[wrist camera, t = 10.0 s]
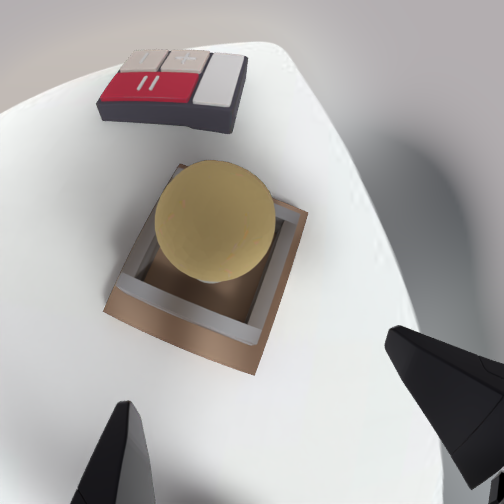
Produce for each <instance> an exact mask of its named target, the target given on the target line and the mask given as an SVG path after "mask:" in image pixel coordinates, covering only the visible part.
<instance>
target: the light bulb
mask: <svg viewBox="0 0 504 504" xmlns="http://www.w3.org/2000/svg"><path fill="white" fill-rule="evenodd" d="M275 220H276V219H275V208H274V202H273V199H272V197H271V195H270V192H269V190H268V189H267V187H266V186H265V185H264V184H263V182H262V181H261V180H260V179H259V178H258V177H256V176H255V175H254V174H252V173H251V172H249V171H248V170H246V169H244V168H242V167H240V166H237V165H235V164H232V163H229V162H224V161H216V160H205V161H201V162H198V163H195V164H192V165H190V166H189V167H187V168H186V169H184V170H182V171H181V172H180V173H179V174H178V175H176V176H175V177H174V178H173V180H172V181H171V182H170V183H169V184H168V185H167V187H166V188H165V190H164V191H163V193H162V195H161V197H160V199H159V202H158V205H157V208H156V213H155V232H156V236H157V240H158V243H159V245H160V247H161V249H162V251H163V253H164V254H165V256H166V257H167V258H168V260H169V261H170V262H171V263H172V264H173V265H174V266H175V267H176V268H177V269H179V270H180V271H181V272H183V273H185V274H187V275H188V276H190V277H193V278H196V279H198V280H199V281H202V282H204V283H218V282H221V281H227V280H231V279H235V278H238V277H240V276H242V275H244V274H245V273H247V272H249V271H250V270H251V269H252V268H254V267H255V266H256V265H257V264H258V263H259V262H260V261H261V259H262V258H263V257H264V256H265V254H266V253H267V251H268V249H269V247H270V245H271V242H272V239H273V235H274V231H275Z"/></svg>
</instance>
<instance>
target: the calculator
mask: <svg viewBox="0 0 504 504" xmlns="http://www.w3.org/2000/svg"><path fill="white" fill-rule="evenodd" d="M247 64H248V57H246V56H243V55H236V54H227V53H210V52H209V51H204V50H172V51H168V50H167V49H161V50H160V49H158V50H136V51H134V52H133V53H132V54H131V55H130V57H129V58H128V59H127V60H126V62H125V63H124V64H123V65H122V67H121V68H120V70H119V71H118V73H117V74H116V75H115V76H114V78H113V79H112V80H111V82H110V83H109V84H108V86H107V87H106V89H105V90H104V92H103V93H102V95H101V96H100V98H99V100H98V101H97V103H96V105H97V108H98V111H99V113H100V116H101V118H102V120H103V121H117V122H133V123H150V124H167V125H180V126H188V127H190V128H192V129H199V130H206V131H212V132H219V133H225V134H230V133H232V131H233V128H234V123H235V119H236V115H237V111H238V107H239V103H240V99H241V95H242V91H243V87H244V83H245V79H246V72H247Z"/></svg>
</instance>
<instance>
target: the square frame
mask: <svg viewBox="0 0 504 504" xmlns="http://www.w3.org/2000/svg"><path fill="white" fill-rule="evenodd" d="M187 167H188V166H185V165H183V164H179V166H178V167H177V169H176V171H175V172H174V174H173V176H172V177H171V179H170V181H169V182H168V184H169V183H170V182H171V181H172V180H173V178H174V177H175V176H176V175H178V174H179V173H180V172H181V171H182V170H184V169H186V168H187ZM168 184H167V185H168ZM166 187H167V186H166ZM166 187H165V188H166ZM164 190H165V189H164ZM162 193H163V192H162ZM161 195H162V194H161ZM160 197H161V196H160ZM159 199H160V198H159ZM159 199H158V201H157V203H156V205H155V206H154V208H153V210H152V212H151V214H150V216H149V217H148V219H147V221H146V223H145V225H144V227H143V229H142V230H141V232H140V234H139V236H138V238H137V240H136V242H135V244H134V246H133V248H132V250H131V252H130V254H129V256H128V258H127V260H126V262H125V264H124V266H123V268H122V270H121V272H120V274H119V277H118V279H117V281H116V283H115V285H114V287H113V290H112V292H111V294H110V296H109V299H108V301H107V303H106V305H105V308H104V310H103V312H105V313H107V314H109V315H110V316H112V317H114V318H116V319H118V320H120V321H122V322H124V323H126V324H128V325H131V326H133V327H135V328H137V329H139V330H141V331H143V332H145V333H147V334H150V335H152V336H154V337H156V338H159V339H161V340H163V341H165V342H168V343H170V344H172V345H175V346H177V347H179V348H182V349H184V350H187V351H189V352H191V353H194V354H196V355H199V356H201V357H204V358H207V359H209V360H212V361H214V362H217V363H220V364H222V365H225V366H228V367H231V368H234V369H236V370H239V371H242V372H245V373H248V374H251V375H254V376H255V373H256V370H257V368H258V365H259V362H260V359H261V357H262V354H263V351H264V348H265V345H266V343H267V340H268V337H269V334H270V331H271V328H272V325H273V322H274V319H275V316H276V314H277V311H278V308H279V305H280V302H281V299H282V296H283V293H284V289H285V286H286V283H287V280H288V277H289V274H290V271H291V268H292V265H293V262H294V258H295V255H296V252H297V249H298V246H299V242H300V239H301V236H302V233H303V229H304V226H305V223H306V219H307V216H308V212H306V211H303V210H301V209H298V208H296V207H294V206H291V205H289V204H286V203H284V202H281V201H279V200H276V199H274V198H272V199H273V202H274V208H275V219H276V220H275V231H274V235H273V239H272V242H271V245H270V247H269V249H268V251H267V253H266V254H265V256H264V257H263V258H262V259H261V261H260V262H259V263H258V264H257V265H256V266H255V267H254V268H252V269H251V270H250V271H249V272H247V273H245V274H244V275H242V276H240V277H238V278H235V279H231V280H227V281H221V282H218V283H204V282H202V281H199V280H198V279H196V278H193V277H190V276H188V275H187V274H185V273H183V272H181V271H180V270H179V269H177V268H176V267H175V266H174V265H173V264H172V263H171V262H170V261H169V260H168V258H167V257H166V256H165V254H164V253H163V251H162V249H161V247H160V245H159V243H158V240H157V236H156V232H155V213H156V208H157V205H158V202H159Z"/></svg>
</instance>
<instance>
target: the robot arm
mask: <svg viewBox="0 0 504 504" xmlns="http://www.w3.org/2000/svg"><path fill="white" fill-rule="evenodd" d="M385 350H386V352H387V354H388V356H389V357H390V359H391V361H392V363H393V365H394V367H395V369H396V370H397V372H398V374H399V376H400V378H401V380H402V381H403V383H404V384H405V386H406V387H407V389H408V390H409V392H410V393H411V395H412V396H413V398H414V399H415V401H416V402H417V404H418V405H419V407H420V408H421V410H422V411H423V413H424V414H425V416H426V418H427V419H428V421H429V422H430V424H431V425H432V427H433V428H434V430H435V432H436V433H437V435H438V436H439V438H440V439H441V441H442V443H443V444H444V446H445V447H446V449H447V451H448V452H449V454H450V455H451V458H452V459H453V461H454V462H455V464H456V466H457V467H458V469H459V471H460V473H461V474H462V476H463V478H464V479H465V481H466V483H467V485H468V486H469V488H470V489H471V490H472V489H474V488H476V487H477V486H478V485H480V484H481V483H483V482H484V481H486V480H487V479H488V478H489V477H491V476H492V475H493V474H495V473H496V472H498V471H499V470H500V469H501V471H500V472H499V473H498V474H497V475H496V476H495V477H494V479H493V480H492V481H491V489H490V496H489V503H488V504H504V364H502V363H499V362H496V361H493V360H490V359H487V358H484V357H482V356H478V355H476V354H474V353H471V352H468V351H466V350H463V349H460V348H458V347H455V346H452V345H450V344H447V343H445V342H442V341H439V340H437V339H434V338H431V337H429V336H426V335H424V334H421V333H419V332H416V331H414V330H411V329H408V328H406V327H403V326H400V325H397V326H394V327H392V328H390V329H389V331H388V334H387V338H386V341H385ZM70 504H155V497H154V490H153V483H152V474H151V466H150V459H149V454H148V450H147V445H146V441H145V436H144V431H143V425H142V420H141V417H140V414H139V413H138V411H137V410H136V408H135V407H134V405H133V403H132V402H131V401H120V402H118V403H117V405H116V407H115V409H114V411H113V413H112V415H111V417H110V419H109V421H108V423H107V425H106V427H105V429H104V431H103V433H102V435H101V437H100V439H99V441H98V443H97V446H96V448H95V450H94V452H93V454H92V456H91V458H90V461H89V463H88V465H87V467H86V469H85V471H84V474H83V476H82V478H81V480H80V483H79V485H78V489H76V492H75V494H74V496H73V498H72V501H71V503H70Z"/></svg>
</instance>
